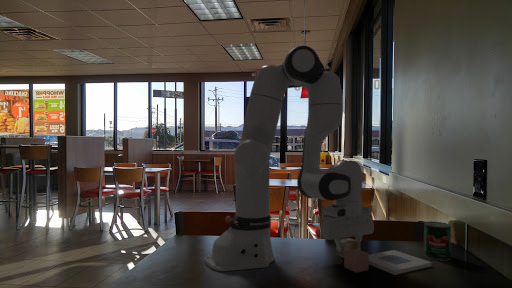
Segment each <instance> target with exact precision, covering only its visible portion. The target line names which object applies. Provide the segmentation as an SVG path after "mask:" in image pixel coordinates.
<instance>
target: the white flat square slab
mask: <svg viewBox="0 0 512 288" xmlns="http://www.w3.org/2000/svg"><path fill="white" fill-rule="evenodd" d="M432 263H433V262H431V261H429V260H425V259H423V258H420V257H417V256H414V255H411V254H407V253H404V252H402V251H398V250H397V249H396V250H395V249H393V250H387V251H383V252H376V253H372V254H369V266H372V267H374V268H377V269H379V270H382V271H384V272H386V273H389V274H392V275H394V276H396V275H401V274H405V273H410V272H413V271H419V270H423V269H426V268H430V267H432Z"/></svg>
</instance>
